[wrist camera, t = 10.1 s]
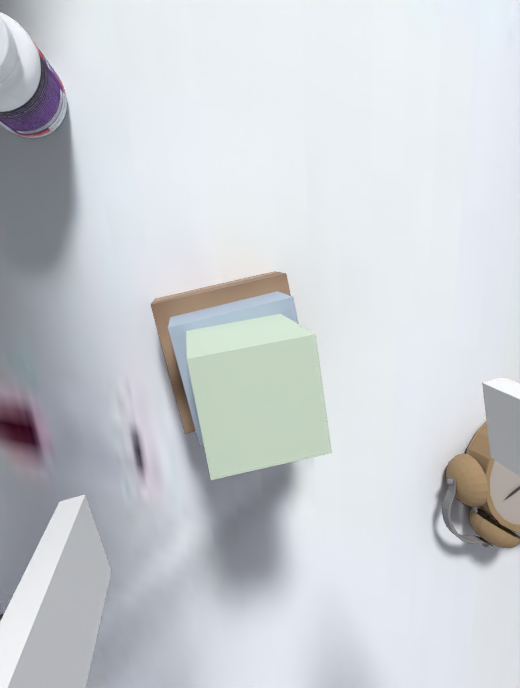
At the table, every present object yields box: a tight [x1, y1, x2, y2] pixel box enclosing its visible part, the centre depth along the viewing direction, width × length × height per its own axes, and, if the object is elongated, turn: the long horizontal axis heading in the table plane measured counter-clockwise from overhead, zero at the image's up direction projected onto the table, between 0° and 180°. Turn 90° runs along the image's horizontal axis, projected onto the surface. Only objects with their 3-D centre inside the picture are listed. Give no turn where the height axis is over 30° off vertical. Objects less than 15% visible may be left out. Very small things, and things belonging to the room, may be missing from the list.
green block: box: [186, 314, 332, 480], centre depth 26 cm, size 6×6×8 cm
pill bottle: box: [0, 12, 67, 138], centre depth 29 cm, size 5×5×10 cm
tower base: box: [151, 272, 291, 434], centre depth 37 cm, size 10×10×5 cm
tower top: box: [168, 291, 299, 446], centre depth 32 cm, size 8×8×5 cm
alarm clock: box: [442, 421, 520, 548], centre depth 44 cm, size 11×5×15 cm
